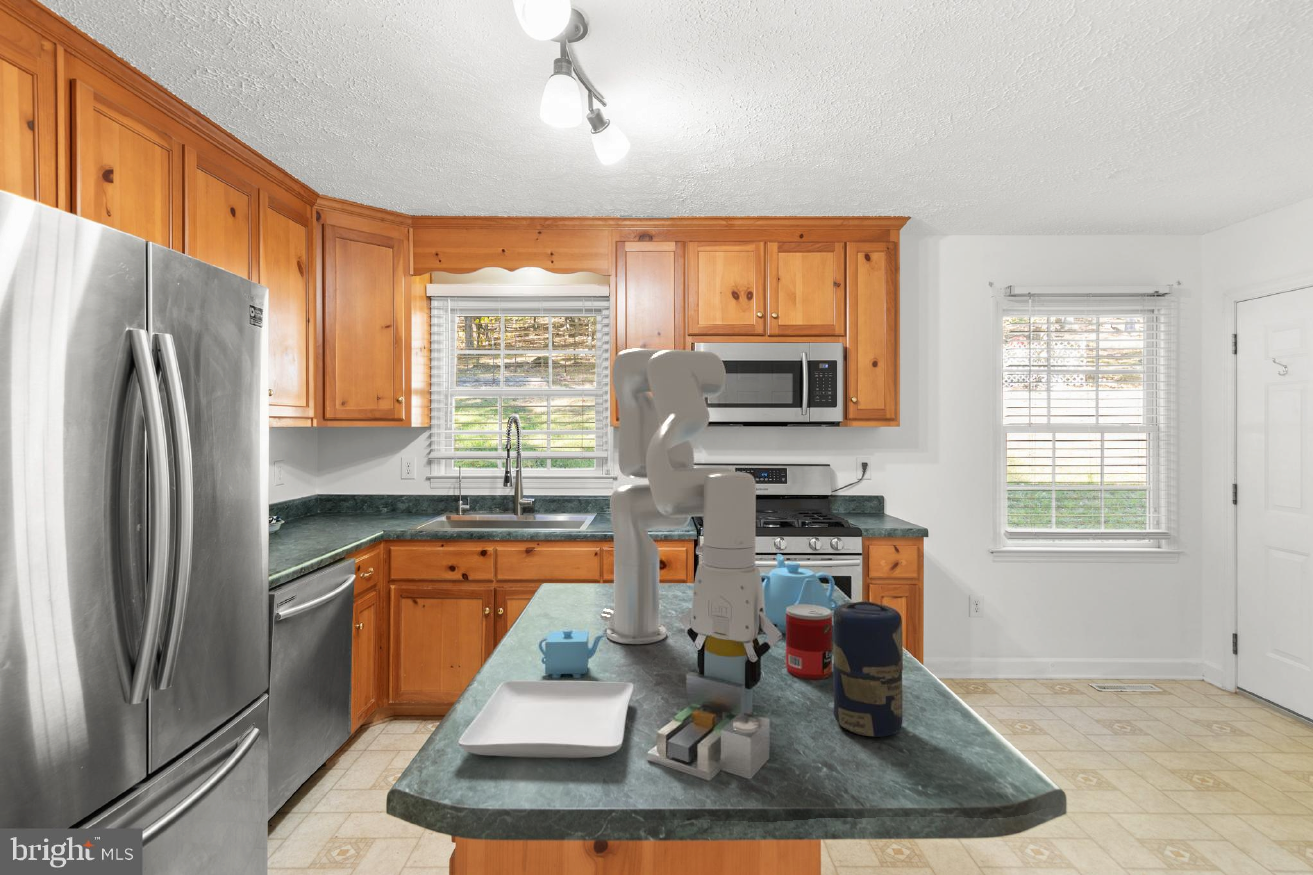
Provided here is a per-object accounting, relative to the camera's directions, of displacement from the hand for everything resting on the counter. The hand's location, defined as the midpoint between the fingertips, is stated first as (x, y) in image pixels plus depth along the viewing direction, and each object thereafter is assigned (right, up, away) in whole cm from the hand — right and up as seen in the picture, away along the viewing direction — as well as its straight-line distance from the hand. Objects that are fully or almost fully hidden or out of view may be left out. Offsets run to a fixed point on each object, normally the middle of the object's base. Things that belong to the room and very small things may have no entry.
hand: (728, 679), depth 90 cm
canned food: (+17, -7, +20) cm, 27 cm away
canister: (+20, -7, -1) cm, 21 cm away
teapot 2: (+20, -7, +47) cm, 51 cm away
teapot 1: (-25, -7, +20) cm, 33 cm away
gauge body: (-3, -6, -9) cm, 12 cm away
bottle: (0, -5, 0) cm, 5 cm away
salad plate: (-25, -7, -2) cm, 26 cm away
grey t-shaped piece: (-5, -5, -8) cm, 11 cm away
